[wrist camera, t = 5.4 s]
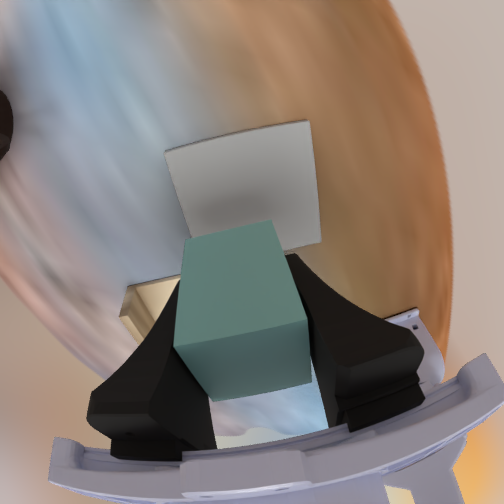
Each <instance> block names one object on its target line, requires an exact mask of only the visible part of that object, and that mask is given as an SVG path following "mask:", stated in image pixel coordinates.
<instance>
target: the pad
mask: <svg viewBox="0 0 504 504" xmlns="http://www.w3.org/2000/svg"><path fill="white" fill-rule="evenodd" d="M164 156H165V159H166V163H167V166H168V169H169V172H170V175H171V178H172V181H173V184H174V187H175V191H176V194H177V197H178V200H179V202H180V205H181V208H182V211H183V214H184V217H185V220H186V223H187V226H188V229H189V231H190V234H191V237H192V238H194V237H198V236H202V235H206V234H211V233H215V232H219V231H223V230H227V229H231V228H236V227H240V226H244V225H248V224H253V223H257V222H261V221H266V220H270V219H271V220H272V223H273V225H274V228H275V231H276V233H277V236H278V239H279V241H280V244H281V247H282V249H283V251H285V250H289V249H293V248H298V247H302V246H306V245H311V244H315V243H319V242H321V227H320V214H319V201H318V190H317V180H316V170H315V161H314V153H313V145H312V137H311V129H310V122H309V121H308V120H301V121H294V122H288V123H282V124H276V125H270V126H265V127H260V128H255V129H250V130H245V131H240V132H236V133H231V134H227V135H222V136H218V137H214V138H210V139H206V140H202V141H198V142H195V143H191V144H187V145H184V146H180V147H177V148H173V149H170V150H167V151H165V152H164Z"/></svg>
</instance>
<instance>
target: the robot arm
mask: <svg viewBox="0 0 504 504" xmlns="http://www.w3.org/2000/svg"><path fill="white" fill-rule="evenodd" d="M285 258H286V260H287V263H288V266H289V269H290V271H291V274H292V277H293V280H294V282H295V285H296V288H297V291H298V294H299V297H300V299H301V302H302V305H303V308H304V311H305V314H306V317H307V321H308V333H309V346H310V356H311V359H312V363H313V367H314V370H315V374H316V378H317V381H318V385H319V389H320V393H321V397H322V401H323V405H324V409H325V413H326V418H327V422H328V426H329V428H328V429H325V430H321V431H317V432H313V433H309V434H305V435H301V436H297V437H292V438H288V439H283V440H278V441H273V442H267V443H262V444H255V445H249V446H241V447H234V448H224V449H217V445H216V441H215V436H214V431H213V425H212V419H211V413H210V406H209V398H208V394H207V393H206V392H205V390H204V389H203V388H202V386H201V385H200V384H199V382H198V381H197V380H196V378H195V377H194V375H193V374H192V373H191V371H190V370H189V368H188V367H187V366H186V364H185V363H184V361H183V360H182V358H181V357H180V355H179V354H178V352H177V351H176V349H175V348H174V334H175V323H176V312H177V303H178V294H179V285H180V280H179V281H178V282H177V284H176V286H175V288H174V290H173V292H172V293H171V295H170V297H169V299H168V301H167V303H166V305H165V306H164V308H163V310H162V312H161V314H160V315H159V317H158V319H157V320H156V322H155V324H154V325H153V327H152V328H151V330H150V331H149V333H148V334H147V336H146V337H145V339H144V340H143V341H142V343H141V344H140V345H139V346H138V348H137V349H136V350H135V351H134V352H133V354H132V355H131V356H130V357H129V358H128V359H127V360H126V362H125V363H124V364H123V365H122V366H121V367H120V368H119V369H118V370H117V371H116V372H115V373H114V374H113V375H111V376H110V377H109V378H108V379H107V380H106V381H105V382H103V383H102V384H101V385H100V386H98V387H97V388H96V389H95V390H94V391H92V393H91V396H90V401H89V406H88V411H87V417H86V419H87V422H88V423H89V424H90V426H92V427H93V428H94V429H96V430H98V431H99V432H100V433H102V434H104V435H105V436H107V437H109V438H110V439H111V449H110V450H109V449H99V448H91V447H84V446H83V445H82V444H80V443H79V442H76V441H74V440H71V439H66V438H60V437H54V441H53V447H52V453H51V460H50V467H49V476H48V481H49V482H50V483H53V484H56V485H58V486H60V487H63V488H65V489H68V490H71V491H74V492H76V493H79V494H83V495H86V496H90V497H94V498H98V499H103V500H107V501H113V502H118V503H123V504H390V503H389V500H388V497H387V493H386V490H385V487H384V485H387V486H391V487H397V488H402V489H407V490H410V491H411V493H412V495H413V499H414V502H415V504H465V503H464V500H463V498H462V494H461V491H460V489H459V486H458V483H457V480H456V478H455V475H454V472H453V470H452V468H453V466H454V464H455V463H456V461H457V459H458V458H459V456H460V454H461V453H462V451H463V449H464V447H465V445H466V442H467V441H466V438H467V434H466V433H467V432H469V431H470V430H472V429H473V428H475V427H476V426H478V425H479V424H481V423H482V422H484V421H485V420H486V419H487V418H488V417H489V416H491V415H492V414H493V413H494V412H495V411H496V410H497V409H499V408H500V407H501V406H502V405H503V404H504V383H503V381H502V380H501V378H500V376H499V374H498V373H497V371H496V369H495V368H494V366H493V364H492V363H491V361H490V359H489V358H488V356H487V355H486V353H483V354H481V355H480V356H478V357H477V358H475V359H473V360H472V361H470V362H468V363H467V364H465V365H464V366H463V367H462V368H461V369H460V370H459V372H458V374H457V376H455V377H454V378H452V379H450V380H448V381H446V382H444V383H442V384H440V383H441V382H442V380H443V377H444V372H445V367H444V361H443V357H442V354H441V352H440V350H439V348H438V347H437V345H436V343H435V342H434V340H433V338H432V337H431V335H430V333H429V332H428V330H427V329H426V327H425V325H424V324H423V322H422V321H421V319H420V318H419V316H418V314H419V310H418V309H417V308H416V309H413V310H410V311H408V312H405V313H402V314H399V315H396V316H394V317H391V318H388V319H385V320H383V319H381V318H379V317H377V316H375V315H373V314H371V313H369V312H367V311H365V310H363V309H361V308H359V307H358V306H356V305H355V304H353V303H351V302H350V301H348V300H347V299H345V298H344V297H342V296H341V295H340V294H338V293H337V292H336V291H334V290H333V289H332V288H331V287H329V286H328V285H327V284H326V283H325V282H323V281H322V280H321V279H320V278H319V277H318V276H317V275H316V274H315V273H314V272H313V271H312V270H311V269H310V268H309V267H308V266H307V265H306V264H305V263H304V262H303V261H302V260H301V259H300V258H299V256H298V255H297V254H295V253H294V254H290V255H285Z"/></svg>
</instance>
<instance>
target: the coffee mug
mask: <svg viewBox="0 0 504 504" xmlns="http://www.w3.org/2000/svg"><path fill="white" fill-rule="evenodd" d="M12 133H13V115H12V109H11V106H10V103H9V101H8V99H7V97H6V95H5V94H4V93H3V92H2V91H1V90H0V160H1V159H2V158H3V157H4V155H5V154H6V152H8V151H9V148H10V142H11V138H12Z"/></svg>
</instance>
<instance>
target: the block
mask: <svg viewBox="0 0 504 504" xmlns="http://www.w3.org/2000/svg"><path fill="white" fill-rule="evenodd" d="M174 348H175V349H176V351H177V352H178V354H179V355H180V357H181V358H182V360H183V361H184V363H185V364H186V366H187V367H188V368H189V370H190V371H191V373H192V374H193V375H194V377H195V378H196V380H197V381H198V382H199V384H200V385H201V386H202V388H203V389H204V390H205V392H206V393H207V394H208V396H209V397H210V398H211V400H212V401H213V402H214V401H222V400H228V399H235V398H241V397H246V396H252V395H257V394H262V393H267V392H272V391H277V390H282V389H286V388H290V387H295V386H299V385H303V384H307V383H311V382H312V375H311V359H310V346H309V333H308V321H307V317H306V314H305V311H304V308H303V305H302V302H301V299H300V297H299V294H298V291H297V288H296V285H295V282H294V280H293V277H292V274H291V271H290V269H289V266H288V263H287V260H286V258H285V255H284V252H283V249H282V247H281V244H280V241H279V239H278V236H277V233H276V231H275V228H274V225H273V223H272V220H271V219H270V220H266V221H261V222H257V223H253V224H248V225H244V226H240V227H236V228H231V229H227V230H223V231H219V232H215V233H211V234H206V235H202V236H198V237H194V238H190V239H186V240H185V246H184V254H183V261H182V269H181V277H180V285H179V294H178V303H177V312H176V323H175V334H174Z"/></svg>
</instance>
